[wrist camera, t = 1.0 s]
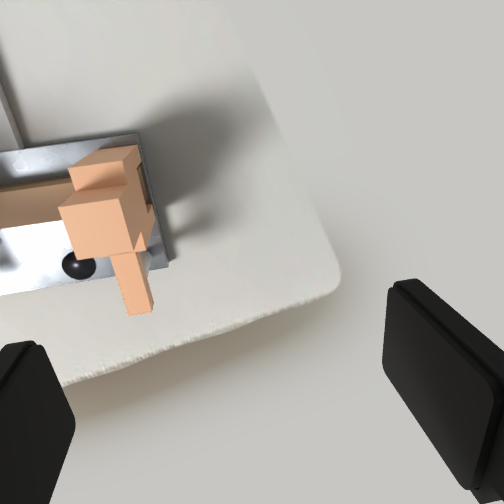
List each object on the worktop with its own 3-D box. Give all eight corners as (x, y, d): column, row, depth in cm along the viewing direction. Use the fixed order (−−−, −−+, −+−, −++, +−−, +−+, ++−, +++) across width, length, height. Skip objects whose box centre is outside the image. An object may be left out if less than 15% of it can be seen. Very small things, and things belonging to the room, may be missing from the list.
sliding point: (95, 150, 25) (47, 181, 17) (137, 144, 26) (111, 172, 17) (132, 274, 30) (109, 346, 22) (167, 268, 30) (158, 337, 22)
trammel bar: (-123, 178, 24) (-293, 228, 16) (134, 144, 26) (105, 172, 17) (-50, 303, 29) (-152, 394, 20) (165, 267, 30) (154, 338, 22)
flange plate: (-121, 167, 25) (-134, 170, 24) (137, 133, 26) (135, 134, 25) (-46, 297, 30) (-54, 304, 29) (168, 262, 31) (168, 267, 30)
